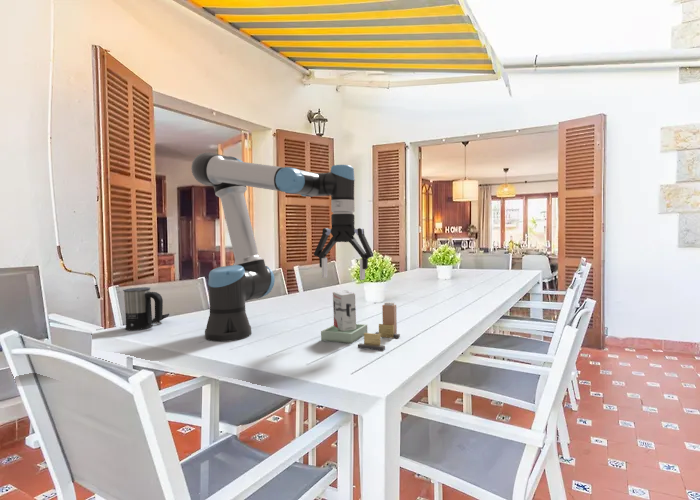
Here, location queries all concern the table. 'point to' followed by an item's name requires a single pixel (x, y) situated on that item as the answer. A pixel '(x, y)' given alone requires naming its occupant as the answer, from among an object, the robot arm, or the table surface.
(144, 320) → the milk frother
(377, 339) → the clip rails
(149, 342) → the table surface
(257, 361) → the table surface
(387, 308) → the fuse
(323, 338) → the tray
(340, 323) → the ink box
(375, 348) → the holder base
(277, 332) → the table surface
